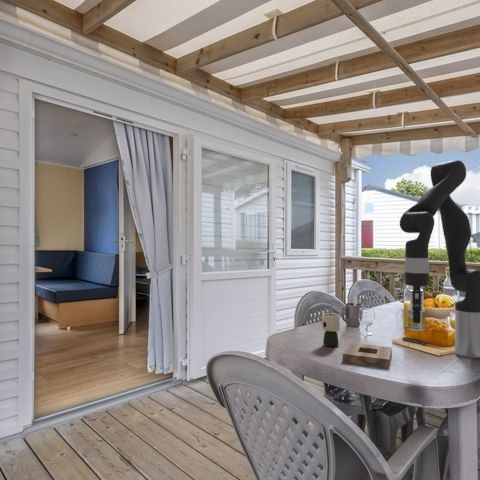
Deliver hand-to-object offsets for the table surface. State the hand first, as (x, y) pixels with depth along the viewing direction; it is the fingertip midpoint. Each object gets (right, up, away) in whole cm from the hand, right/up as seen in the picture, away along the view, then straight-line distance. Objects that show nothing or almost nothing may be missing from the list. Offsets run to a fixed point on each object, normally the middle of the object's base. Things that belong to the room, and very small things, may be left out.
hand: (416, 320), depth 130 cm
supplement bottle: (0, -3, 0) cm, 3 cm away
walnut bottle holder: (-12, -17, +14) cm, 25 cm away
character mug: (-22, -17, +31) cm, 41 cm away
